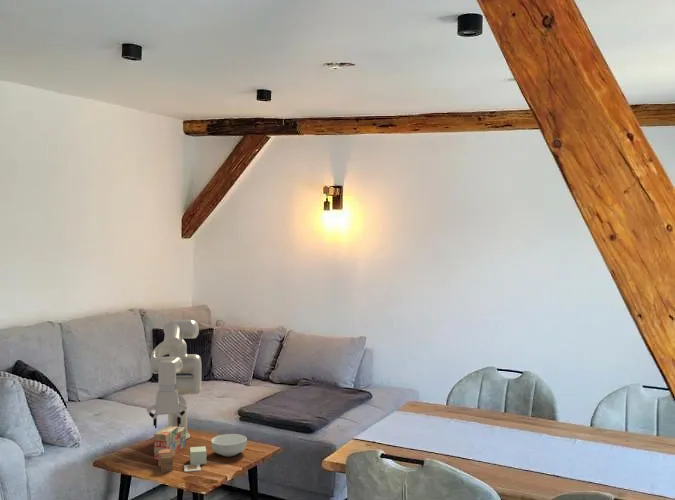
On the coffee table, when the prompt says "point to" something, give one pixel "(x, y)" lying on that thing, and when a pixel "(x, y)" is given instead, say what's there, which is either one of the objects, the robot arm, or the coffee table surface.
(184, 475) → the coffee table surface
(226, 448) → the cereal bowl
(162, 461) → the walnut block
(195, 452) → the sage base block
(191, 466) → the tile
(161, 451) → the terracotta block
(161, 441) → the stack of blocks
